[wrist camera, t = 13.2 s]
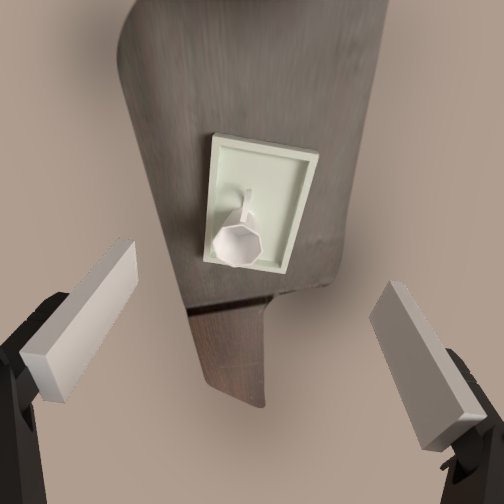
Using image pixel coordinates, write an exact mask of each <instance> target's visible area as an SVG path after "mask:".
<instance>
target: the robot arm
mask: <svg viewBox="0 0 504 504" xmlns="http://www.w3.org/2000/svg"><path fill="white" fill-rule="evenodd" d="M137 284H138V272H137V260H136V250H135V241H134V240H129V239H122V238H119V239H118V240H117V241H116V242H115V243H114V244H113V245H112V247H111V248H110V249H109V250H108V251H107V253H105V255H104V256H103V257H102V258H101V259H100V260H99V262H98V263H97V264H96V265H95V266H94V267H93V268H92V269H91V271H90V272H89V273H88V274H87V275H86V276H85V277H84V279H83V280H82V281H81V282H80V283H79V284H78V285H77V287H76V288H75V289H74V290H73V291H72V292H71V293H70V294H69V293H63V292H58V293H56V294H54V295H52V296H51V297H49V298H47V299H46V300H44V301H43V302H42V303H41V304H40V305H39V307H38V308H37V309H36V310H35V312H33V313H32V314H31V315H30V316H29V317H28V318H27V321H24V322H23V323H22V324H21V325H20V326H19V327H18V328H17V329H16V330H15V331H14V332H13V333H12V334H11V336H10V337H9V338H8V339H7V340H6V341H5V342H4V343H3V344H2V345H1V346H0V504H47V500H46V493H45V486H44V479H43V472H42V465H41V458H40V451H39V444H38V437H37V430H36V423H35V416H34V409H33V405H32V403H31V402H32V401H33V399H34V398H35V396H36V395H37V394H38V392H39V393H40V395H41V397H42V399H43V401H50V402H58V403H66V402H67V400H68V398H69V396H70V395H71V393H72V392H73V390H74V388H75V387H76V385H77V383H78V381H79V380H80V378H81V377H82V375H83V373H84V372H85V370H86V368H87V367H88V365H89V363H90V362H91V360H92V359H93V357H94V355H95V354H96V352H97V350H98V349H99V347H100V345H101V344H102V342H103V340H104V338H105V337H106V335H107V334H108V332H109V330H110V329H111V327H112V325H113V324H114V322H115V320H116V319H117V317H118V316H119V314H120V312H121V311H122V309H123V307H124V306H125V304H126V302H127V301H128V299H129V297H130V296H131V294H132V292H133V291H134V289H135V287H136V286H137ZM369 319H370V322H371V324H372V326H373V329H374V331H375V334H376V336H377V339H378V341H379V344H380V346H381V349H382V351H383V354H384V356H385V359H386V361H387V364H388V366H389V369H390V371H391V374H392V376H393V379H394V381H395V384H396V386H397V389H398V391H399V394H400V396H401V398H402V401H403V404H404V406H405V408H406V411H407V413H408V416H409V418H410V421H411V423H412V426H413V428H414V431H415V433H416V436H417V438H418V441H419V443H420V446H421V448H422V450H428V451H436V452H443V451H444V450H445V449H446V448H448V447H449V446H450V445H451V446H452V448H453V450H454V452H455V455H454V456H453V457H451V458H450V459H449V460H447V461H446V462H445V463H443V464H442V465H441V467H440V469H441V470H442V471H443V470H445V469H446V468H447V467H449V469H448V474H447V478H446V482H445V486H444V490H443V494H442V498H441V503H440V504H504V422H503V421H502V419H501V418H500V416H499V415H498V413H497V412H496V410H495V409H494V407H493V405H492V404H491V402H490V401H489V399H488V398H487V396H486V395H485V393H484V392H483V390H482V389H481V387H480V386H479V385H478V384H477V383H476V382H477V381H476V380H475V378H474V377H473V375H472V374H470V371H469V369H468V368H467V366H466V365H465V363H464V362H463V360H462V359H460V357H459V356H458V355H457V354H456V353H454V351H452V350H451V349H447V348H444V346H443V345H442V343H441V342H440V340H439V338H438V337H437V335H436V334H435V332H434V330H433V329H432V327H431V326H430V324H429V322H428V321H427V319H426V318H425V316H424V314H423V313H422V311H421V310H420V308H419V307H418V305H417V303H416V302H415V300H414V299H413V297H412V295H411V294H410V292H409V291H408V289H407V287H406V286H405V284H404V283H402V282H396V281H389V282H388V284H387V286H386V287H385V289H384V291H383V293H382V295H381V296H380V298H379V300H378V302H377V303H376V305H375V307H374V309H373V311H372V312H371V314H370V316H369Z"/></svg>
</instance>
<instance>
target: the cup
mask: <svg viewBox="0 0 504 504" xmlns="http://www.w3.org/2000/svg"><path fill="white" fill-rule="evenodd" d="M251 194H252V189H246V193H245V198H244V202H243V207H242V208H236V209H234V210H233V211H232V213H231V214H230V215H229V216H228V218H227V219H226V221H225V222H224V223H223V225H222V226H221V228H220V230H219V231H218V233H217V234H216V236H215V237H214V239H213V240H212V244H213V247H214V250H215V254H216V257H217V258H218V259H219V260H221V261H223V262H225V263H226V264H228V265H230V266H232V267H240V266H248V265H253V263H254V262H255V261H256V260H257V259H258V258H259V256H260V255H261V254H262V253H263V248H262V243H261V238H260V233H259V229H258V225H257V220H256V219H255V215H254V213H253V212H252V211H250V210H249V205H250V200H251Z"/></svg>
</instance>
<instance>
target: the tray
mask: <svg viewBox="0 0 504 504" xmlns="http://www.w3.org/2000/svg"><path fill="white" fill-rule="evenodd" d="M318 158H319V153H318V152H317V150H313V149H307V148H302V147H296V146H291V145H285V144H279V143H274V142H268V141H262V140H257V139H251V138H246V137H240V136H234V135H229V134H223V133H217V132H215V133H214V135H213V136H212V149H211V163H210V177H209V190H208V204H207V217H206V231H205V244H204V258H203V261H205V262H211V263H218V264H224V265H228V264H226V263H225V262H223V261H221V260H219V259H218V258H217V257H216V254H215V250H214V247H213V244H212V240H213V239H214V237H215V236H216V234H217V233H218V231H219V230H220V228H221V226H222V225H223V223H224V222H225V221H226V219H227V218H228V216H229V215H230V214H231V213H232V211H233V210H234V209H236V208H242V207H243V202H244V198H245V193H246V189H252V194H251V200H250V205H249V210H250V211H252V212H253V213H254V215H255V219H256V220H257V225H258V229H259V233H260V238H261V243H262V248H263V253H262V254H261V255H260V256H259V258H258V259H257V260H256V261H255V262H254V263H253V265H248V266H240V267H243V268H250V269H256V270H262V271H269V272H275V273H282V274H285V273H286V270H287V266H288V263H289V259H290V256H291V252H292V249H293V245H294V242H295V238H296V235H297V231H298V228H299V224H300V221H301V217H302V214H303V210H304V207H305V203H306V200H307V196H308V193H309V189H310V186H311V182H312V179H313V175H314V172H315V168H316V165H317V161H318Z"/></svg>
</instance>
